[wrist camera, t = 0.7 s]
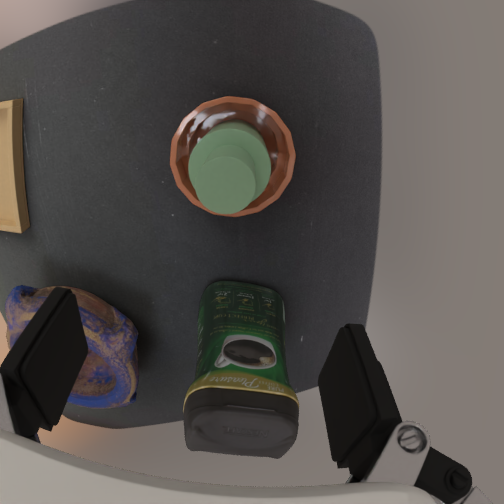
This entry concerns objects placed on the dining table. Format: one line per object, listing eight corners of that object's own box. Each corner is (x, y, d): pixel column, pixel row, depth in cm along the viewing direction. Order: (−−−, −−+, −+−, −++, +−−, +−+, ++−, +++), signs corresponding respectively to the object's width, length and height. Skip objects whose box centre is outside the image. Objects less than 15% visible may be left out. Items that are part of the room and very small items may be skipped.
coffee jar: (196, 324, 38) (174, 460, 22) (205, 271, 35) (178, 419, 18) (272, 336, 39) (283, 471, 23) (290, 286, 36) (316, 432, 19)
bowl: (143, 378, 44) (129, 431, 35) (41, 339, 41) (15, 384, 32) (163, 291, 36) (142, 353, 27) (35, 244, 33) (-10, 289, 24)
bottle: (207, 116, 26) (179, 131, 16) (269, 123, 27) (284, 144, 16) (200, 174, 29) (173, 226, 18) (260, 181, 29) (267, 237, 19)
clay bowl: (188, 91, 26) (176, 91, 21) (295, 105, 26) (304, 107, 22) (178, 191, 30) (167, 209, 26) (277, 203, 31) (283, 223, 27)
